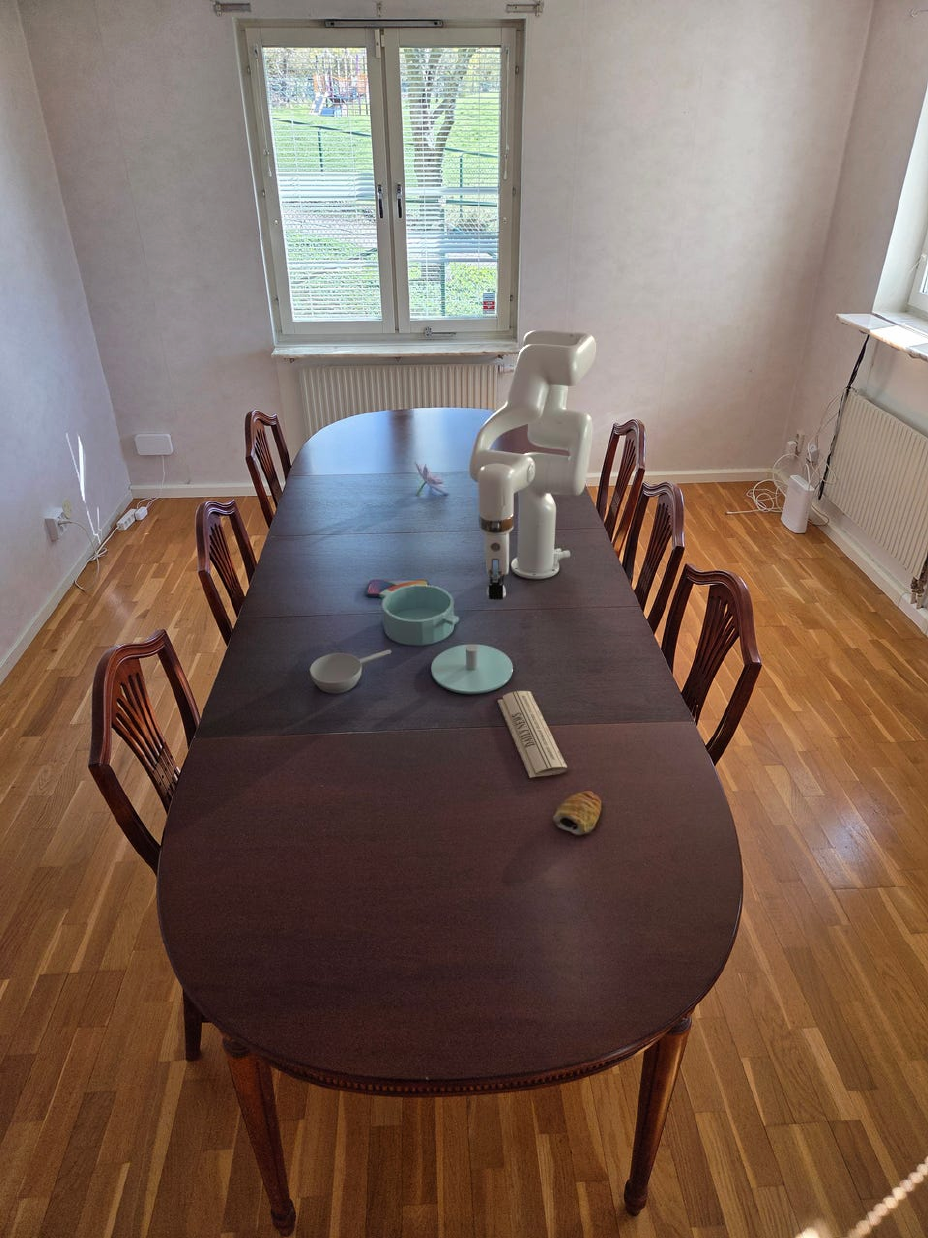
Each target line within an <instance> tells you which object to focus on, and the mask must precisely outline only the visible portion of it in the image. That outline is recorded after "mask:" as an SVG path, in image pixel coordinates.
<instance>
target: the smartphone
mask: <svg viewBox="0 0 928 1238" xmlns="http://www.w3.org/2000/svg"><path fill="white" fill-rule="evenodd" d="M411 585H429V581H428V580H426V579H371V580H370V581H369V583H368V586H367V589H366V596H367V597H379V598H381V597H380V596H379V593H381V592H382V591H384V590H389V591H391V592H392V591H394V590H396V589H398V588H401V587H405V586H411Z"/></svg>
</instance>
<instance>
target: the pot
mask: <svg viewBox="0 0 928 1238" xmlns="http://www.w3.org/2000/svg"><path fill="white" fill-rule="evenodd" d="M379 596H380V597H379V598H381V599H382V601H381V612H382V613H381V616H382V627H383V631H384V633H385V636H387V637H388V638H389V639H390V640H392V641H393V642H396V643H399V644H401V645H406V646H428V645H432V644H436V643H438V642H441V641H443V640H445V639H447V638H448V637H449V636H450V635H451V634H453V632H454V629H455V624H457V623H458V622H459V621H460V617H459V616H457V615H455V599H454V597H453V596H452V594H451V593H450V592H449V591H447V590H445V589H444V588H441V587H438V586H435V585H429V584H428V585H411V586H405V587H401V588H398V589H396V590H394V591H392V592H391V591H389V590H384V591H382V592H381V593H379Z"/></svg>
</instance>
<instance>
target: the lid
mask: <svg viewBox="0 0 928 1238" xmlns="http://www.w3.org/2000/svg"><path fill="white" fill-rule="evenodd" d="M430 671H431V676H432V678H433V680H434V681H435V682H436V683H437V684H438V685H439V686H441V687H442V688H444V689H446V690H449V691H451V692H455V693H459V694H467V695H475V694H483V693H484V694H485V693H489V692H492V691H495V690H497V689H499V688H502V687H503V686H504V685H505V684H506V683H508V682H509V680H510V679H511V678H512V675H513V671H514V665H513V662H512V660H511V659H510V657H509V656H508V655H507V654H505V652H503V651H501V650H500V649H497V648H495V647H492V646H489V645H484V644H473V643H472V644H471V643H470V644H462V645H461V644H460V645H457V646H453V647H450V648H447V649H446V650H443V651H442V652H440V653H439V654H438V655H437V656H435V658H434V659H433V661H432V663H431V667H430Z"/></svg>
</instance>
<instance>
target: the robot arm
mask: <svg viewBox="0 0 928 1238" xmlns="http://www.w3.org/2000/svg"><path fill="white" fill-rule="evenodd" d="M522 340H523V341H522V348H521V350H520V351H519V353H518V356H517V359H516V364H515V366H514V370H513V374H512V378H511V381H510V385H509V390H508V393H507V397H506V400H505V404H504V405H503V406H501V408H499V409H498V410H497V411H496V412H494V413H493V414H492V415H491V416H490V417H489V418H488V419H487V420H486V421H485V422H484V423H483V424H482V426H481V428H480V429H479V430H478V432H477V434H476V437H475V440H474V444H473V447H472V451H471V454H470V460H469V466H468V470H469V476H470V478H471V479H472V480H473V481H474V482H476V483H477V486H478V487H477V488H478V489H477V491H478V493H477V495H478V496H477V497H478V529H479V530H480V532H482V533H484V558H485V560H484V561H485V568H486V569H485V570H486V571H485V572H486V574H487V575H489V582H488V587H489V597H488V599H489V600H493V599H500V600H504V598H503V585H504V584H505V582H504V581H505V580H504V579H505V578H504V576H506V575H508V574H509V571H510V570H509V568H511V571H512V572H513V573H514V574H515V575H517V576H518V577H520V578H524V579H528V580H542V579H543V580H544V579H549V578H551V577H553V576H555V575H557V574H558V572H559V570H560V563H559V561H561V560H565V559H569V558H571V552H570V551H569V549H568V550H563V551H562V549H561V548H560V547H559V548H556V549H555V538H556V521H557V519H556V517H557V506H556V502H555V500H554V498H553V496H552V495H555V496H556V495H557V496H563V497H578V496H580V495H582V493H583V492H584V489H585V487H586V482H587V478H588V471H589V466H590V457H591V451H592V446H593V436H594V422H593V419H592V417H591V415H590V414H589V413H587V412H585V411H581V410H572V409H567V403H568V402H567V401H568V393H569V387H573V386H576V385H578V383H580V382H581V380H582V379H583V378H584V376H585V375H586V374H587V373H588V372H589V371H590V369H591V368H592V366H593V364H594V363H595V359H596V356H597V343H596V342H597V341H596V339H595V338H594V336H593V335H591V334H590V333H588V332H581V331H580V332H579V331H567V330H565V331H564V330H556V329H555V330H554V329H534V330H531V331H528V332H527V333H526V334H525V335H524V337H523V339H522ZM526 425H527V439H528V442H529V443H530V444H531V445H533V446H536V447H540V448H545V449H552V450H553V449H554V450H561V451H567V452H569V455H563V454H562V455H561V454H554V453H547V452H537V451H536V452H535V451H531V452H527V453H524V454H523V453H515V452H509V451H502V450H496V449H495V450H494V449H491V447H492V445H494V442H495V441H496V440H497V439H498V438H499V437H500V436H502V435H503V434H505V433H507V432H509V431H512V430H514V429H517V428H520V427H523V426H526ZM516 493H517V496H518V497H517V498H518V509H517V510H518V511H517V512H518V514H517V552H516V553H517V556H516V557H515V558H514V559H513V560H512V561H511V564H510V532H511V531H513V529H514V507H515V506H514V505H515V503H514V502H515V501H514V500H515V499H514V497H515V496H514V494H516ZM510 565H511V567H509V566H510ZM491 569H493V571H491ZM498 570H500V571H498ZM492 575H493V578H492ZM498 575H500V578H498ZM504 586H505V585H504Z"/></svg>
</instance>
